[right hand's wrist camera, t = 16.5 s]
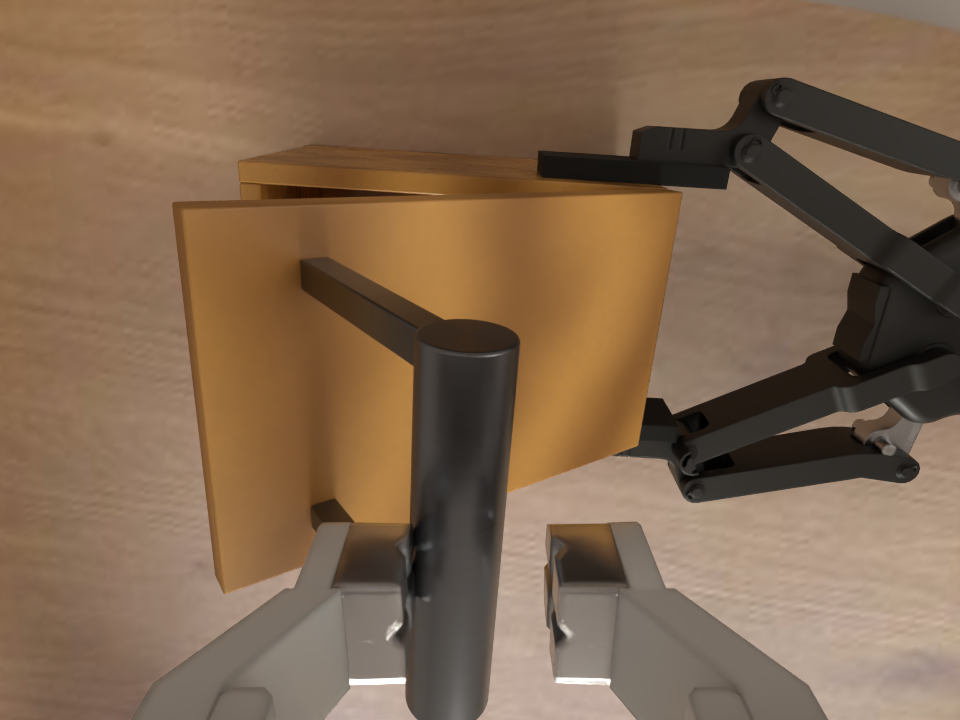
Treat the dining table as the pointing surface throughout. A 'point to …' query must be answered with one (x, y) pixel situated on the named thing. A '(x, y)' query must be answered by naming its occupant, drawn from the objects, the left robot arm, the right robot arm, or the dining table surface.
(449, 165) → the chest
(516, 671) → the dining table surface
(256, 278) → the lid
